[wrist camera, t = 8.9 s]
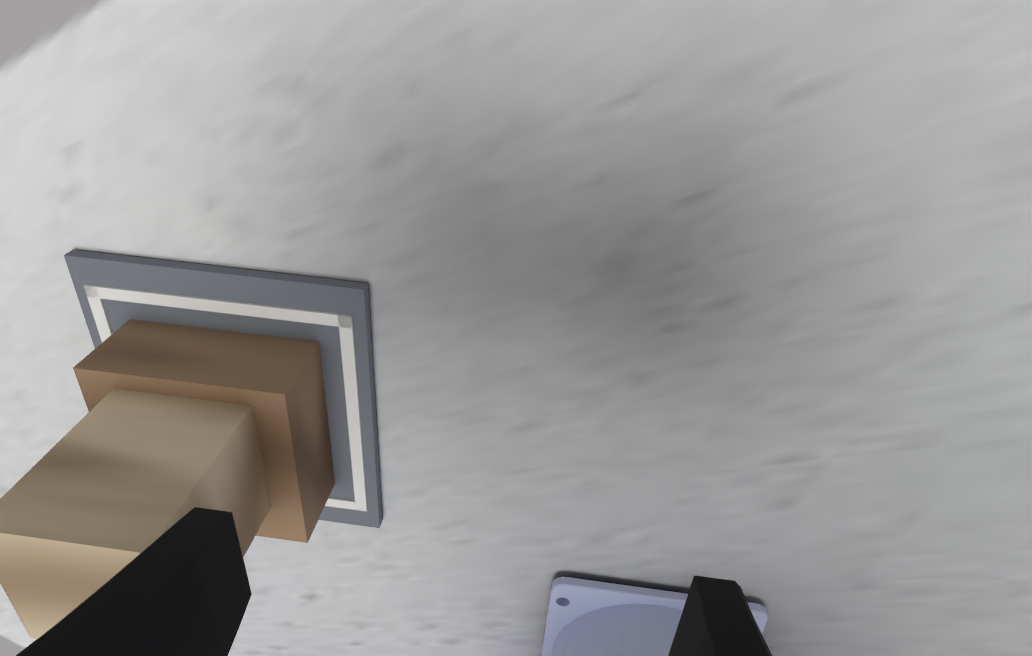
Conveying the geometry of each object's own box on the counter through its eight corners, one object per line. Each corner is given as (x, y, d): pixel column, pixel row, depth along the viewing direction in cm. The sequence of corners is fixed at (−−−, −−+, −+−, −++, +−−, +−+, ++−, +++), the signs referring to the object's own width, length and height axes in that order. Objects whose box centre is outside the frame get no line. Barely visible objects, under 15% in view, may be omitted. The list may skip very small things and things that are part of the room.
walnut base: (335, 483, 23) (307, 542, 21) (171, 461, 24) (127, 517, 22) (319, 341, 20) (284, 394, 18) (129, 319, 21) (73, 367, 18)
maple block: (271, 507, 21) (185, 661, 16) (146, 490, 21) (30, 637, 17) (252, 406, 18) (147, 553, 14) (113, 388, 19) (-30, 528, 14)
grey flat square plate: (382, 519, 25) (378, 530, 24) (149, 487, 25) (142, 497, 25) (368, 283, 19) (362, 291, 19) (73, 249, 20) (61, 256, 20)
